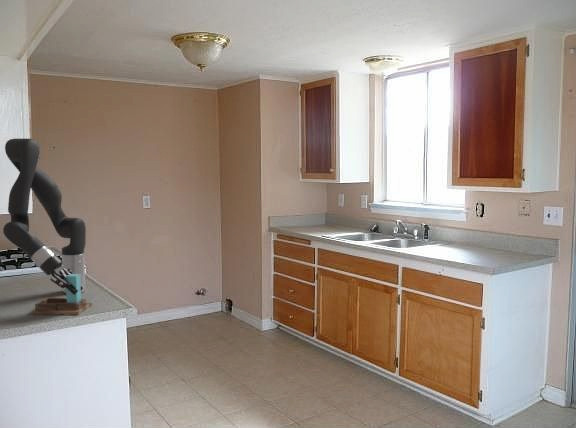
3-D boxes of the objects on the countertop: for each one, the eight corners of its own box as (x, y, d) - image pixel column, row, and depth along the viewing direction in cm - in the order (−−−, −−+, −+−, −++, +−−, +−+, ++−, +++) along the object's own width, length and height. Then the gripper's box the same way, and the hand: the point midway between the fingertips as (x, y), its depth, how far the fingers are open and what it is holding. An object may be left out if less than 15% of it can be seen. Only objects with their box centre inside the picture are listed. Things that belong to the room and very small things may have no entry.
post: (71, 303, 206) (70, 273, 204) (81, 303, 205) (80, 274, 204) (66, 306, 202) (65, 276, 200) (77, 306, 201) (76, 276, 200)
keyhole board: (47, 304, 210) (47, 296, 210) (91, 305, 210) (91, 296, 210) (31, 314, 198) (31, 305, 197) (78, 314, 197) (77, 305, 197)
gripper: (44, 257, 194) (77, 289, 195) (61, 250, 209) (92, 280, 210) (31, 271, 195) (64, 303, 196) (49, 263, 209) (80, 293, 210)
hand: (78, 291), depth 203 cm, fingers closed on post, 4 cm apart
